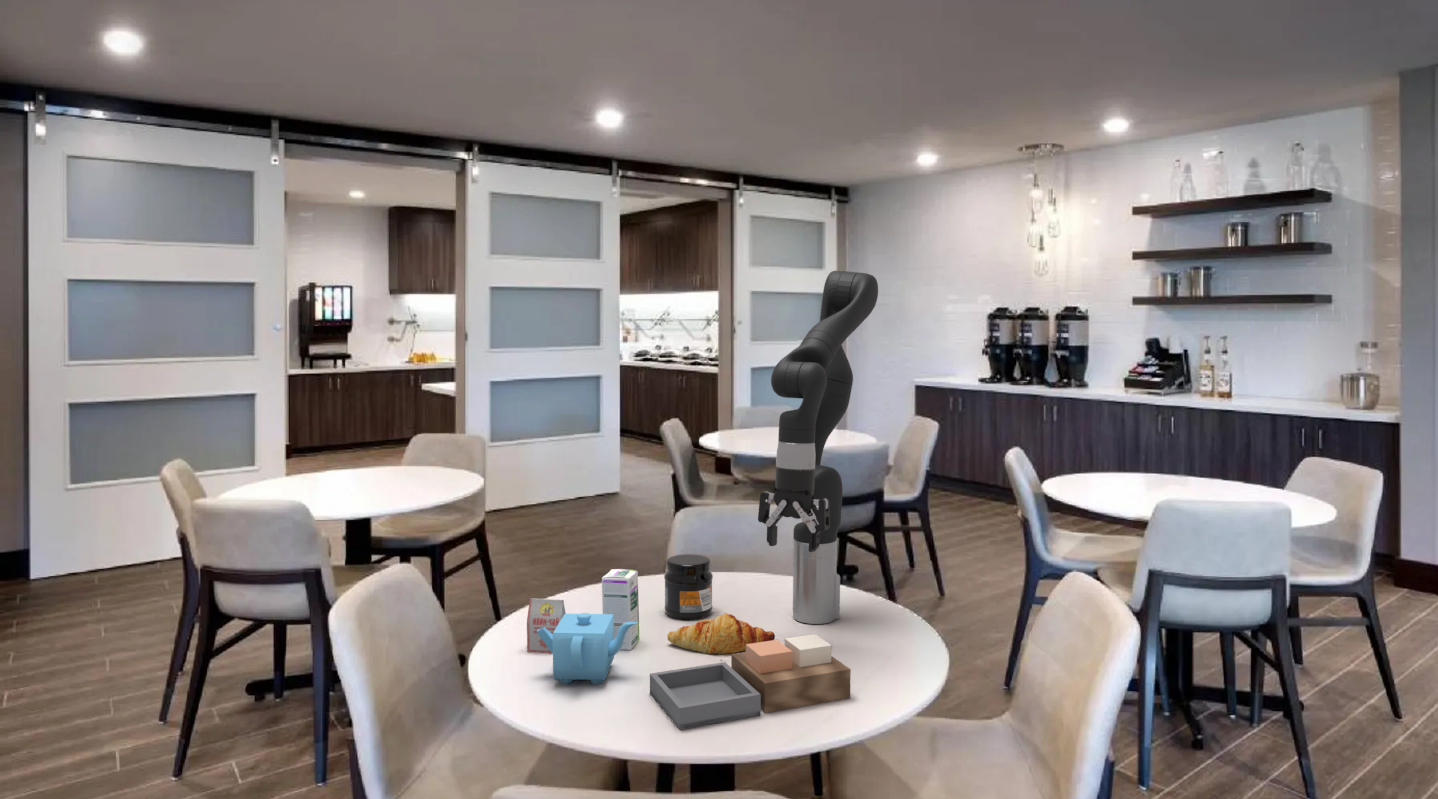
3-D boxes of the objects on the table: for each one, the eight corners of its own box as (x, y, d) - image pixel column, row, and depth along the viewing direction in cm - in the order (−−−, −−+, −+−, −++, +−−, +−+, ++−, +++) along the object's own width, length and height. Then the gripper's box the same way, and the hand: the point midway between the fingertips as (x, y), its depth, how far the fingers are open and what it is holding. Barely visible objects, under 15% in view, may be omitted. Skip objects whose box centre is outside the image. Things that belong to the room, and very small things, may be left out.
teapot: (547, 659, 172) (546, 600, 171) (642, 660, 172) (642, 601, 171) (527, 693, 156) (526, 629, 155) (632, 695, 156) (631, 630, 155)
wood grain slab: (811, 668, 168) (811, 642, 167) (850, 697, 155) (850, 669, 154) (731, 681, 162) (731, 654, 161) (764, 713, 149) (765, 683, 148)
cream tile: (814, 650, 163) (814, 634, 163) (831, 662, 157) (831, 645, 157) (784, 655, 161) (784, 638, 160) (800, 667, 155) (800, 650, 155)
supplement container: (715, 620, 194) (715, 565, 193) (666, 622, 193) (666, 567, 192) (709, 604, 205) (709, 552, 204) (662, 606, 203) (662, 554, 202)
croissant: (666, 668, 177) (663, 639, 173) (670, 629, 186) (667, 600, 181) (775, 668, 176) (774, 639, 172) (774, 628, 184) (774, 600, 180)
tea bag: (534, 645, 180) (533, 595, 179) (567, 646, 179) (566, 597, 178) (527, 651, 176) (526, 601, 175) (561, 653, 175) (560, 603, 174)
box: (725, 681, 162) (725, 662, 161) (760, 715, 148) (760, 694, 148) (649, 693, 156) (649, 673, 156) (679, 729, 143) (679, 708, 142)
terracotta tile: (776, 656, 160) (777, 639, 160) (792, 668, 155) (792, 651, 154) (745, 661, 158) (745, 644, 158) (760, 673, 152) (760, 656, 152)
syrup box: (631, 650, 176) (630, 577, 175) (602, 648, 178) (601, 575, 176) (639, 640, 182) (639, 569, 181) (611, 638, 183) (610, 567, 182)
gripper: (837, 467, 175) (833, 550, 176) (771, 460, 183) (768, 540, 183) (821, 470, 169) (817, 557, 170) (753, 463, 176) (750, 546, 177)
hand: (792, 548), depth 177 cm, fingers open, 8 cm apart
